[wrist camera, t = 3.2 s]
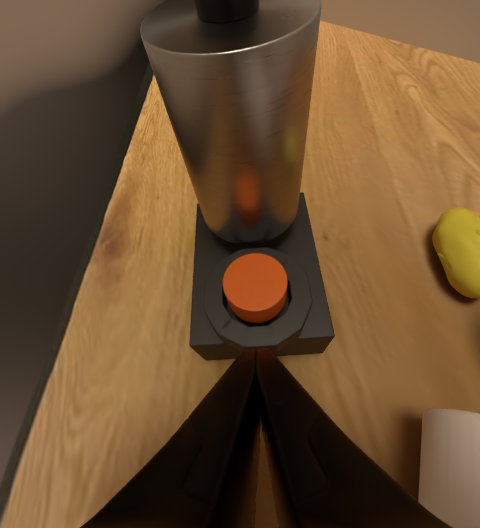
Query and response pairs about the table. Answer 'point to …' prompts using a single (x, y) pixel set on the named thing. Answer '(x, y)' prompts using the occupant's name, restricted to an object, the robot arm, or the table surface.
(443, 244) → the lemon
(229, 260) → the push button box
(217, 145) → the silver metal canister
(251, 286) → the switch
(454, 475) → the mug
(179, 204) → the table surface
